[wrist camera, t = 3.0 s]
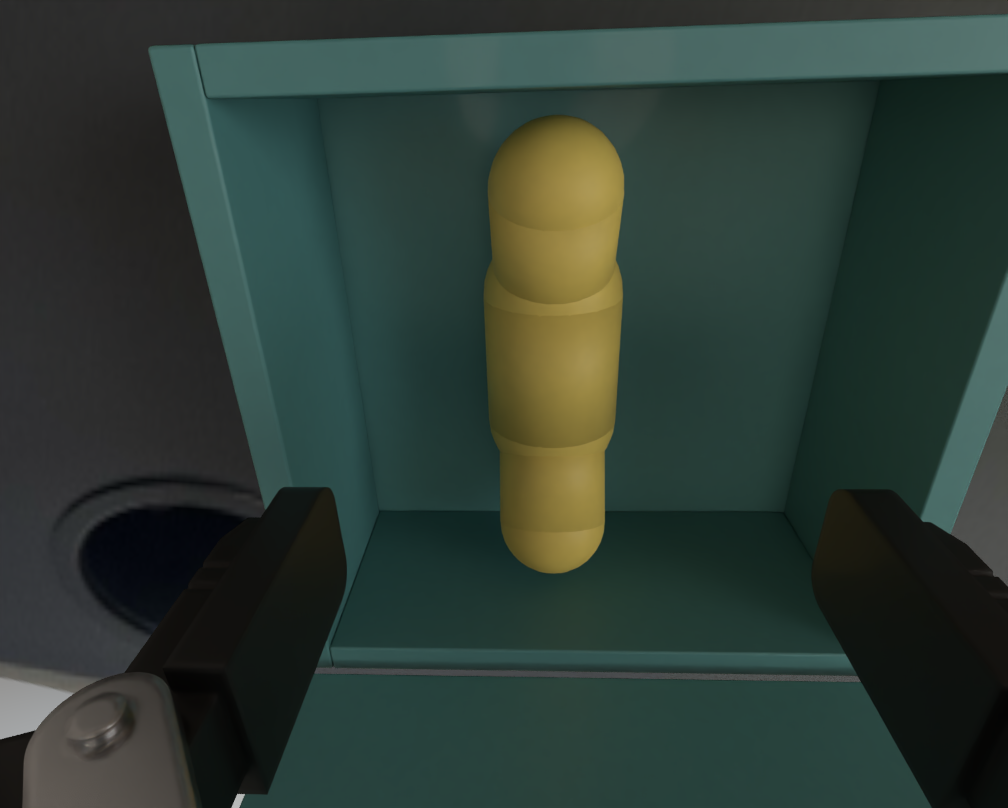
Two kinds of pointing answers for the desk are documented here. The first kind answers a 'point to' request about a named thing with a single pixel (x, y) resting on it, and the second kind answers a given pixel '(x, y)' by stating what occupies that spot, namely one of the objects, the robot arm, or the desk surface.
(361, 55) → the bread box
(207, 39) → the desk surface
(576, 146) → the yellow segmented capsule
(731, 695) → the lid
